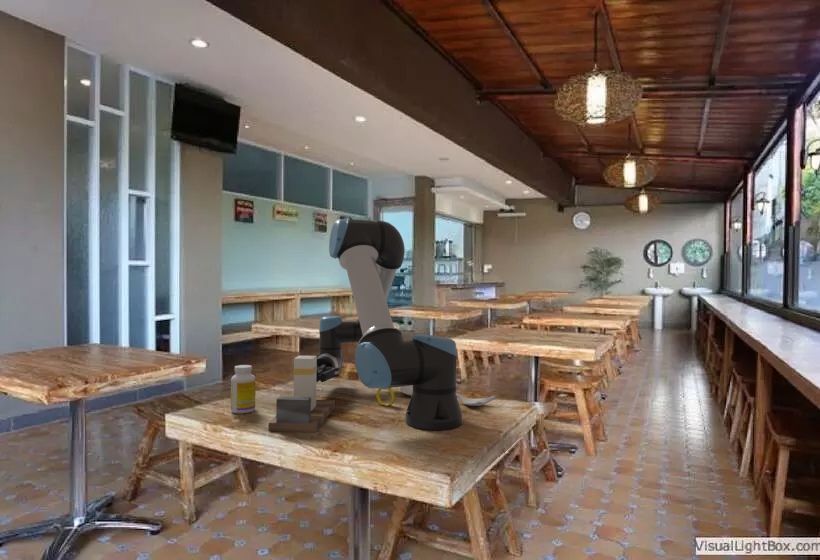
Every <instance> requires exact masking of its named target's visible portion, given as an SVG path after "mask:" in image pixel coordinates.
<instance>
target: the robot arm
mask: <svg viewBox="0 0 820 560" xmlns="http://www.w3.org/2000/svg"><path fill="white" fill-rule="evenodd" d="M329 234H330V236H329V242H328V243H329V246H328V251H329V252H328V253H329V257H331V258H332V259H335V260H336V259H338V262H339V265H340V266H341V268H342V269H344V270H346V272H347V276H348V281H349V285H350V289H351V292H352V297H353V302H354V306H355V308H356V309H355V310H356V314H357V317H358V318H357V320H356V321H355V320H353V321H347V320H346V321H345V320H344V321H343V319H342V317H341V316H339V315H325V316H322V317H320V320H319V328H318V329H319V333H318V334H319V350H318V351H319V353H318V354H319V355H318V357H317V373H316V383H318V382H321V383H324V382H327V381H329V380H331V379H334V378H337V377H339V376H340V369H341V368H342V366H343V364H344V355H343V354H342V345H343V344H353V343H358V345H357V346H356V348H355V350H354V360H355V362H354V366H355V370H356V373H357V376H358V378H359V380H360V382H361V383H362V384H363V385H364V386H365V387H366V388H368V389H371V390H373V389H375V390H376V389H377V390H378V389H379V388H380V389H381V390H387V389H386V388H391V389H392V388H401V387H403V386H413V393H412V396H410V400H409V402H408V405H407V409H406V412H405V423H406V424H407V425H408V426H409V427H412V428H416V429H420V430H429V431H444V430H445V431H446V430H451V429H456V428H458V427H461V426H462V424H463V412H462V409H461V405H460V402H459V398H457V396H456V393H457V358H458V351H457V343H456V341H455V340H454V339H453V338H449V337H444V336H438V335H431V334H421V333H420V334H419V333H415V334H413V336H412V339H411V340H404V337H403V336H404V335H403V333H402V331H401V330H400V329H399V328H397V327H395V325H394V323H393V319H392V316H391V313H390V308H389V305H388V301H387V300H388V297H389V294H390V291H391V289H392V285H393V282H394V280H395V276H396V273H397V270H399V269H401V267H402V265H403V262H404V260H405V259H404V258H405V253H406V252H405V251H406V250H405V249H406V248H405V243H404V239H403V237H402V235H401V232H400V231H399V230H398V229H397V228H396V227H395V226H394V225H393V224H392V223H390V222H388V221H385V220H370V219H369V220H367V219H355V218H353V219H352V218H341V219H337V220H336V221H334V223H333V225H332V227H331V230H330V233H329Z"/></svg>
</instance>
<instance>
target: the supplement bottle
mask: <svg viewBox="0 0 820 560" xmlns="http://www.w3.org/2000/svg"><path fill="white" fill-rule="evenodd" d="M252 371H253V366H252V365H250V364H239V365H235V366H234V375H232V377H231V378H230V411H231V412H232V413H233V414H237V415H239V414H240V415H241V414H243V415H244V413H245V414H250V413H253V412H254V411H255V410H256V376H255V375H254V374H252Z"/></svg>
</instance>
